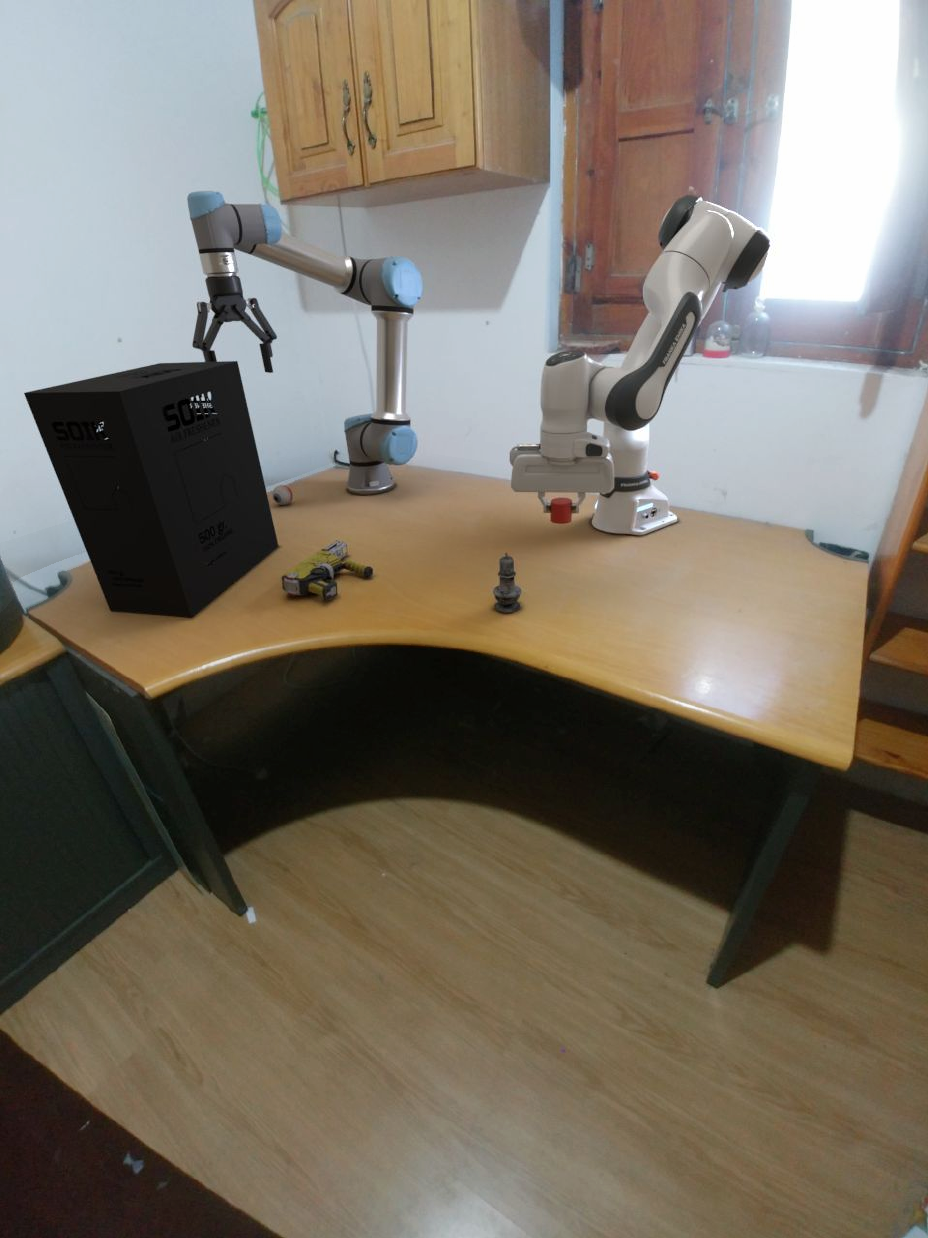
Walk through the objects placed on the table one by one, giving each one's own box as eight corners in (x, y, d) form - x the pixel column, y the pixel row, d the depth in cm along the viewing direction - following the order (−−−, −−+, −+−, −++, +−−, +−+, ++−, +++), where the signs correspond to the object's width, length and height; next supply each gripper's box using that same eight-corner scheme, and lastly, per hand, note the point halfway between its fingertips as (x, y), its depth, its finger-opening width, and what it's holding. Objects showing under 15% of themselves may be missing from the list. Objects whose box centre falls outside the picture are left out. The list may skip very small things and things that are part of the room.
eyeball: (269, 507, 186) (265, 488, 183) (282, 500, 191) (278, 481, 188) (285, 508, 183) (282, 489, 180) (298, 502, 188) (294, 483, 185)
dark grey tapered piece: (519, 614, 120) (519, 559, 114) (490, 612, 122) (489, 558, 116) (523, 600, 125) (523, 546, 119) (495, 598, 127) (493, 545, 121)
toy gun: (389, 548, 145) (334, 537, 149) (339, 588, 125) (277, 575, 129) (389, 566, 147) (335, 555, 151) (340, 608, 127) (279, 595, 131)
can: (555, 525, 121) (555, 505, 119) (547, 518, 125) (547, 499, 123) (575, 522, 122) (575, 502, 120) (566, 515, 126) (567, 496, 124)
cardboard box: (191, 617, 126) (119, 391, 104) (110, 610, 131) (23, 392, 108) (278, 546, 158) (237, 360, 135) (210, 542, 162) (159, 363, 140)
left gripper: (173, 277, 126) (201, 385, 136) (279, 272, 140) (296, 369, 151) (159, 278, 130) (187, 382, 141) (263, 273, 145) (281, 368, 156)
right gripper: (507, 448, 115) (508, 516, 122) (617, 447, 111) (612, 518, 118) (511, 440, 120) (512, 506, 127) (616, 439, 116) (611, 507, 123)
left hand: (244, 376), depth 146 cm, fingers open, 13 cm apart
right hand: (561, 512), depth 123 cm, fingers closed on can, 4 cm apart
